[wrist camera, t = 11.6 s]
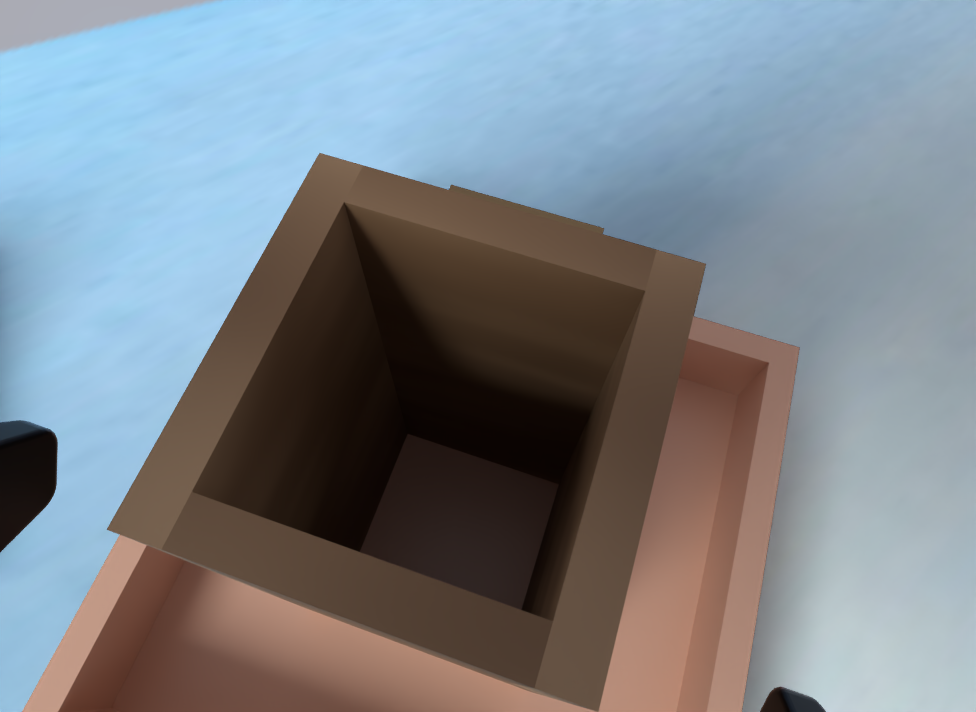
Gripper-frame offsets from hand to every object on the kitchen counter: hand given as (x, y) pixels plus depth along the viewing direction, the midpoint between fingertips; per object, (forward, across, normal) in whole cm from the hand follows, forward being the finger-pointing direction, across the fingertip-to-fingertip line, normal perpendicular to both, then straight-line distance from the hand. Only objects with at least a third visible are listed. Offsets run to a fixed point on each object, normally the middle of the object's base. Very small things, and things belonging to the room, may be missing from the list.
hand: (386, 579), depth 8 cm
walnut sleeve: (+7, 0, +4) cm, 8 cm away
